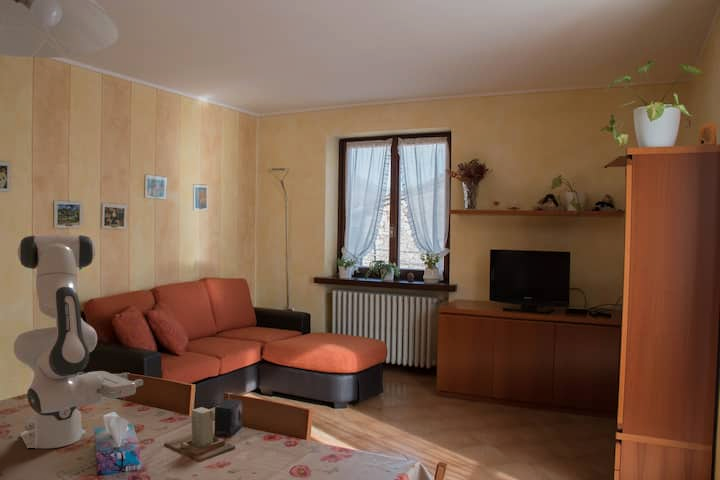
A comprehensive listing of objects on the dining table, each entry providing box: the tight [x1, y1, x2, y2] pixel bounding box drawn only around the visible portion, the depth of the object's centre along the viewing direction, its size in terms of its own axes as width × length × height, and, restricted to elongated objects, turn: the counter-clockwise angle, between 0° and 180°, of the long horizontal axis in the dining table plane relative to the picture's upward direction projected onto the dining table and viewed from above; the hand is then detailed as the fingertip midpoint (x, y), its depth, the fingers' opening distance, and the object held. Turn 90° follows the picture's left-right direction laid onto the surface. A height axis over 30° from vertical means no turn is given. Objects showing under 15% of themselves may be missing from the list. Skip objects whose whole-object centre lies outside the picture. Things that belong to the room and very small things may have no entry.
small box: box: [213, 398, 243, 438], centre depth 208 cm, size 11×6×10 cm, turn 168°
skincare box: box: [190, 406, 214, 448], centre depth 192 cm, size 6×4×12 cm
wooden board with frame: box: [163, 433, 236, 462], centre depth 194 cm, size 20×14×2 cm
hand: (134, 378), depth 181 cm, fingers open, 8 cm apart
